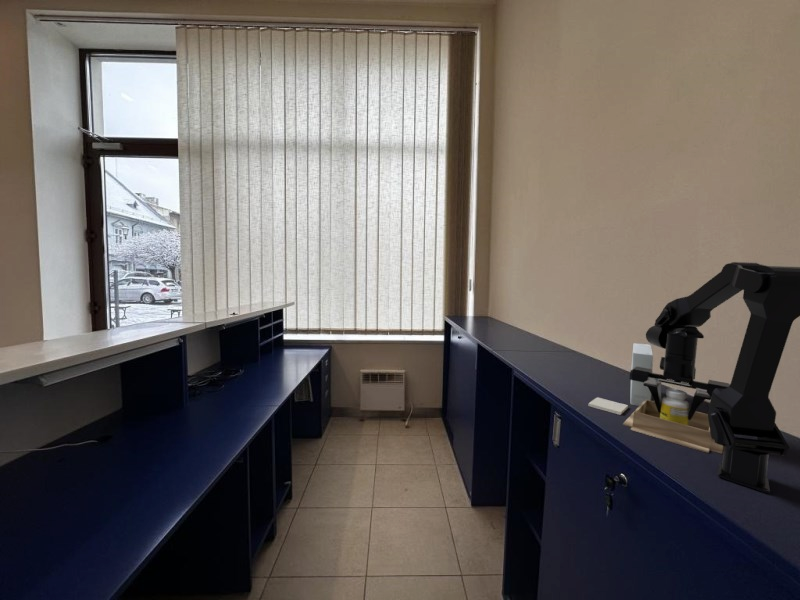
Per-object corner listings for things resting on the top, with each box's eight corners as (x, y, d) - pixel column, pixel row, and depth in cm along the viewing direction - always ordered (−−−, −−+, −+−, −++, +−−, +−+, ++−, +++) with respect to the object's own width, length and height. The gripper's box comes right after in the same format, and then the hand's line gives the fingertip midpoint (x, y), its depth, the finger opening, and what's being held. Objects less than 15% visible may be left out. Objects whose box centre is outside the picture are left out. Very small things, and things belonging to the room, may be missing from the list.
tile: (620, 415, 90) (620, 412, 89) (588, 405, 95) (588, 403, 95) (627, 407, 95) (628, 405, 95) (596, 399, 101) (597, 397, 101)
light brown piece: (721, 457, 69) (723, 438, 69) (620, 426, 82) (622, 411, 82) (724, 432, 81) (726, 416, 81) (636, 409, 94) (638, 395, 94)
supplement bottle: (657, 422, 85) (660, 385, 85) (684, 428, 83) (688, 390, 82) (661, 430, 81) (664, 391, 80) (689, 436, 78) (694, 396, 77)
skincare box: (629, 387, 116) (633, 342, 115) (648, 390, 112) (653, 344, 111) (628, 404, 98) (632, 351, 97) (650, 409, 95) (655, 354, 94)
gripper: (735, 356, 79) (728, 419, 80) (640, 343, 93) (635, 397, 94) (734, 363, 72) (726, 433, 73) (631, 348, 85) (626, 407, 86)
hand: (674, 415), depth 81 cm, fingers closed on supplement bottle, 5 cm apart
